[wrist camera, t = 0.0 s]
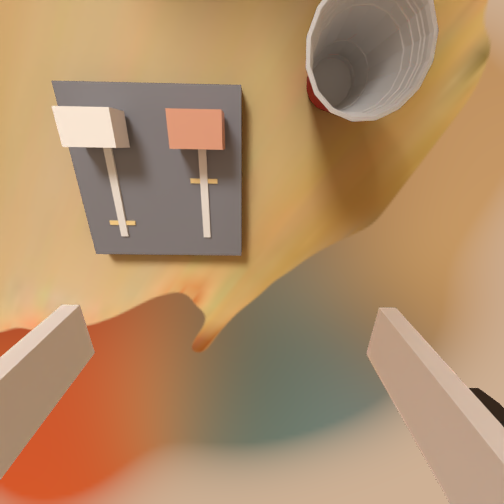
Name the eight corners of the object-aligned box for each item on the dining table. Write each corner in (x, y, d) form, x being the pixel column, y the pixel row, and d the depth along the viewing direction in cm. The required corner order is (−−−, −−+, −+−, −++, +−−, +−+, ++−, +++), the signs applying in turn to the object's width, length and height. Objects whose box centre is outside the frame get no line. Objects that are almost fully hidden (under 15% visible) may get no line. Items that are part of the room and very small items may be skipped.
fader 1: (73, 110, 29) (51, 105, 26) (123, 111, 29) (108, 106, 26) (81, 146, 31) (62, 146, 28) (130, 147, 31) (116, 147, 28)
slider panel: (66, 85, 31) (49, 80, 28) (241, 89, 31) (241, 84, 29) (105, 247, 40) (95, 254, 37) (241, 249, 40) (241, 256, 37)
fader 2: (174, 112, 29) (165, 108, 26) (224, 113, 30) (221, 109, 26) (177, 148, 31) (169, 148, 28) (225, 149, 31) (222, 149, 28)
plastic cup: (370, 14, 28) (447, -68, 17) (374, 117, 33) (438, 104, 22) (278, 42, 29) (296, -20, 18) (293, 139, 34) (315, 136, 23)
